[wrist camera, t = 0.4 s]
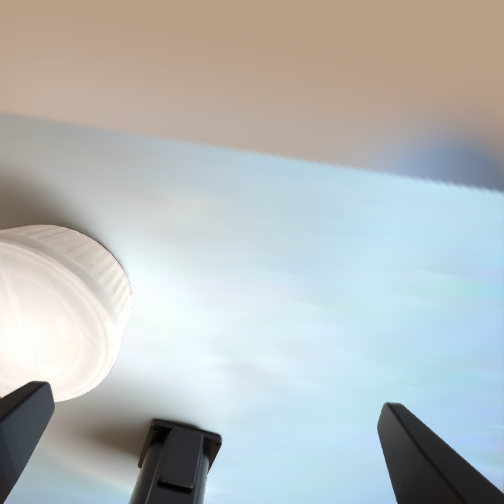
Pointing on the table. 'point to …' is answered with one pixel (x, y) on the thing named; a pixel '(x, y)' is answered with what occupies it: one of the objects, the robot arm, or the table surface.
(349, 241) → the table surface
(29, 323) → the ramekin
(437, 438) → the robot arm
